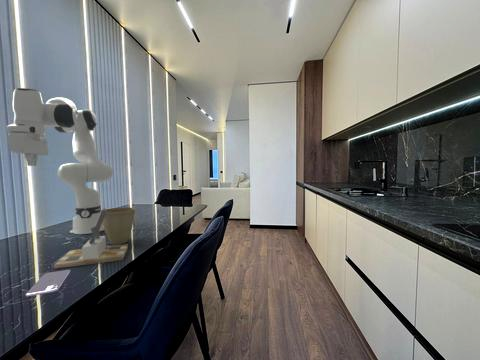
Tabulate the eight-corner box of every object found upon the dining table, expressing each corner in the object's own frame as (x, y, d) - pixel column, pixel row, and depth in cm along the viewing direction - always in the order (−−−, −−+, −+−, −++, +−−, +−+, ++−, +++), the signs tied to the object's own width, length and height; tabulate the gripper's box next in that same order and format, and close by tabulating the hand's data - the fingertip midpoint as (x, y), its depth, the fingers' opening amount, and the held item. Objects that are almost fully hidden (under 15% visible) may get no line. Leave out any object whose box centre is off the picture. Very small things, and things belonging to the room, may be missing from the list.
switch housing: (92, 248, 97) (92, 237, 97) (106, 247, 99) (105, 235, 99) (82, 260, 85) (82, 247, 85) (97, 258, 87) (97, 245, 86)
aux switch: (97, 236, 97) (92, 226, 96) (100, 235, 98) (96, 225, 97) (95, 239, 94) (90, 229, 93) (98, 237, 94) (93, 227, 93)
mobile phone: (71, 268, 80) (57, 288, 67) (71, 271, 80) (57, 292, 67) (44, 272, 77) (23, 294, 64) (44, 275, 77) (23, 298, 64)
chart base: (70, 253, 96) (70, 249, 96) (128, 247, 103) (127, 243, 103) (54, 268, 82) (54, 264, 81) (122, 260, 89) (122, 255, 88)
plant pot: (134, 245, 105) (132, 211, 104) (97, 249, 101) (95, 213, 100) (138, 236, 120) (137, 206, 119) (106, 239, 115) (104, 208, 114)
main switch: (91, 240, 90) (104, 208, 91) (94, 241, 91) (108, 209, 92) (88, 243, 87) (102, 209, 88) (92, 244, 87) (105, 210, 88)
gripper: (34, 133, 98) (36, 166, 99) (2, 125, 78) (5, 165, 79) (52, 134, 100) (53, 166, 101) (25, 126, 80) (27, 165, 81)
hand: (32, 165), depth 90 cm, fingers closed
